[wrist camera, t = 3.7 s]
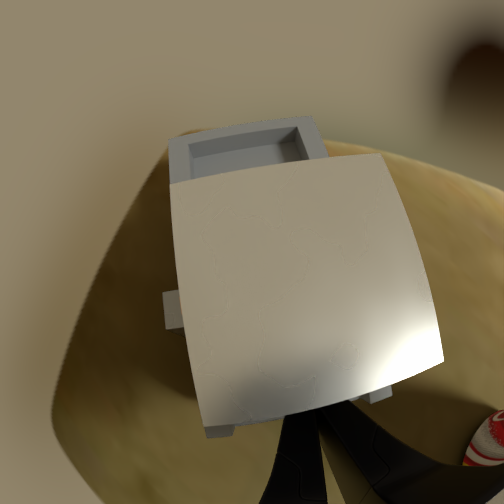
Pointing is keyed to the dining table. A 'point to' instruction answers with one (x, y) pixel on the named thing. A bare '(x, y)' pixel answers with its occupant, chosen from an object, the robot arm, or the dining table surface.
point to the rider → (299, 287)
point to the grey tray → (244, 157)
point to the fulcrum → (173, 312)
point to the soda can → (487, 443)
